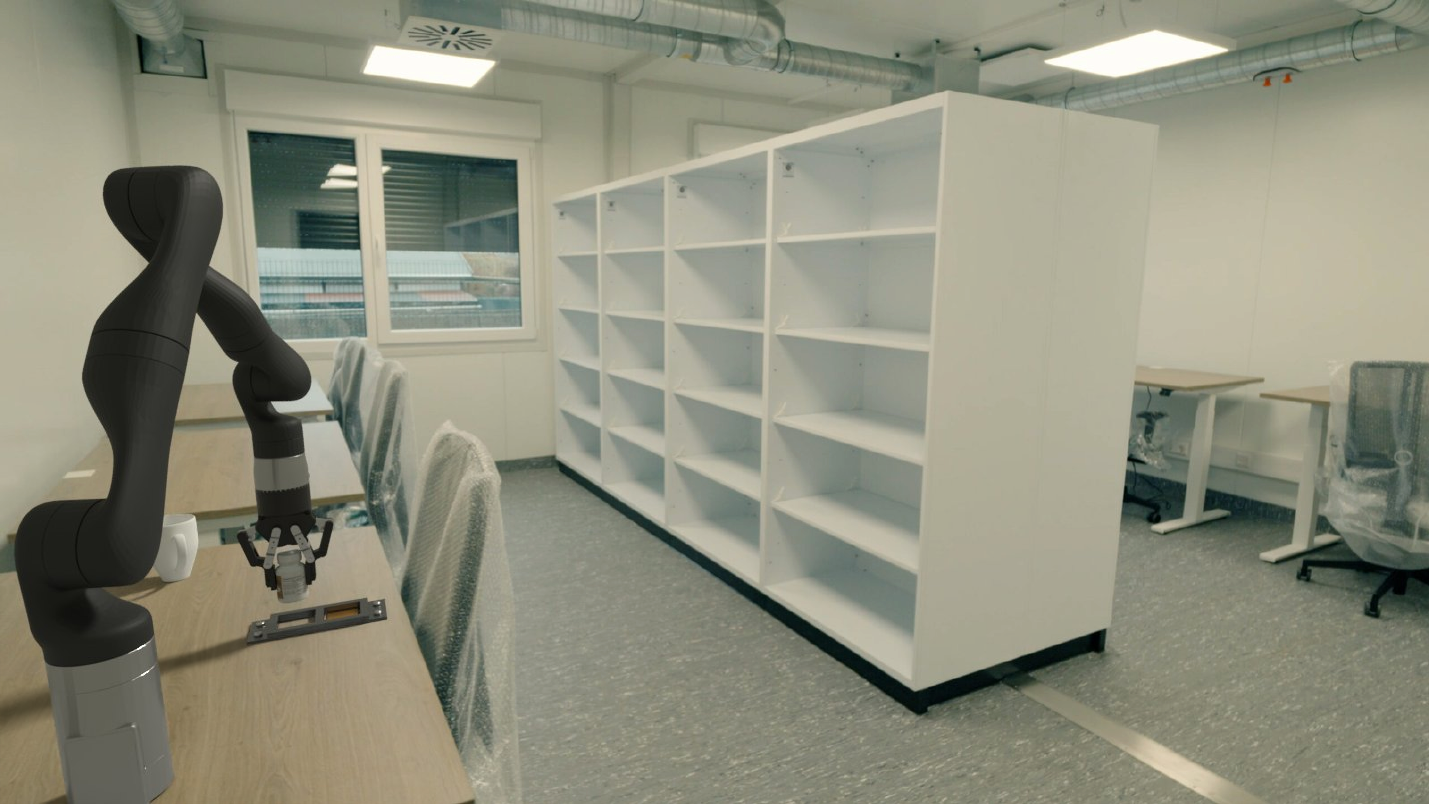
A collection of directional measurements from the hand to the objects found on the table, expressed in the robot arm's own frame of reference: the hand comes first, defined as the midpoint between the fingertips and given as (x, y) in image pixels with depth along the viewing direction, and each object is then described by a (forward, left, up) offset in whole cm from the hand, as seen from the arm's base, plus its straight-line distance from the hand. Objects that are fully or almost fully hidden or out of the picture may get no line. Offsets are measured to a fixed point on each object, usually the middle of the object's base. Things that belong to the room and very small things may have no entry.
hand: (292, 585), depth 123 cm
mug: (+32, +21, -7) cm, 39 cm away
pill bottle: (0, 0, -2) cm, 2 cm away
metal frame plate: (0, -3, -7) cm, 8 cm away
